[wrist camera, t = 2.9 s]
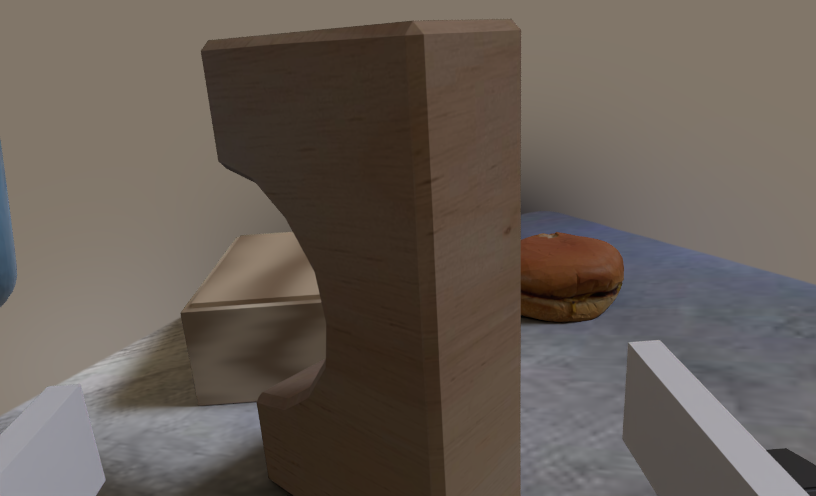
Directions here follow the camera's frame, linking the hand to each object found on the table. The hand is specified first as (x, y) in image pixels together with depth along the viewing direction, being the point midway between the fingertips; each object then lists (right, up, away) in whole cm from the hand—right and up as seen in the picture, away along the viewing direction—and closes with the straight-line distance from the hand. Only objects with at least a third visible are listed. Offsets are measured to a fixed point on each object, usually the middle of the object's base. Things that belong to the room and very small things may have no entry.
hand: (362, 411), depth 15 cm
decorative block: (0, -8, +13) cm, 15 cm away
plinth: (-6, -3, +28) cm, 28 cm away
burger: (+13, 0, +33) cm, 35 cm away
